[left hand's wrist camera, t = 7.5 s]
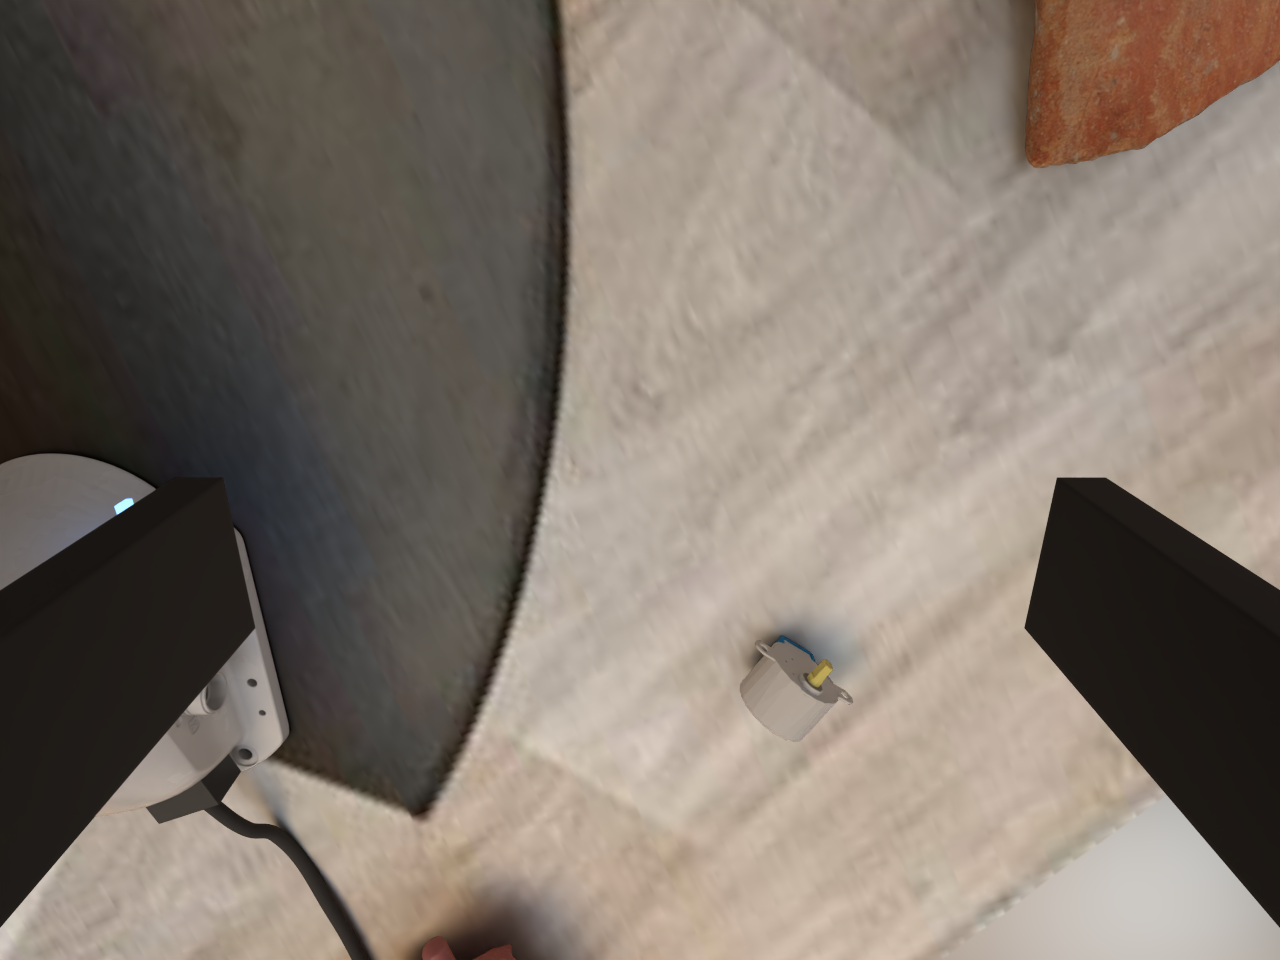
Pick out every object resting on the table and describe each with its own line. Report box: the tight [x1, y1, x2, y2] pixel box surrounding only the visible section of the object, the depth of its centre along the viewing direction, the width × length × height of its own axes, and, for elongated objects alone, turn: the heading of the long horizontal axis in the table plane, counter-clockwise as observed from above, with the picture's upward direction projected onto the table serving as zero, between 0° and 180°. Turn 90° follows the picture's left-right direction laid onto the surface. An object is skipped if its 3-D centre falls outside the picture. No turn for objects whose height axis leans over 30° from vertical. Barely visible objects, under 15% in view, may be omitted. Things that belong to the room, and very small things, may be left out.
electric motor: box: [740, 636, 853, 742], centre depth 44 cm, size 7×5×5 cm
